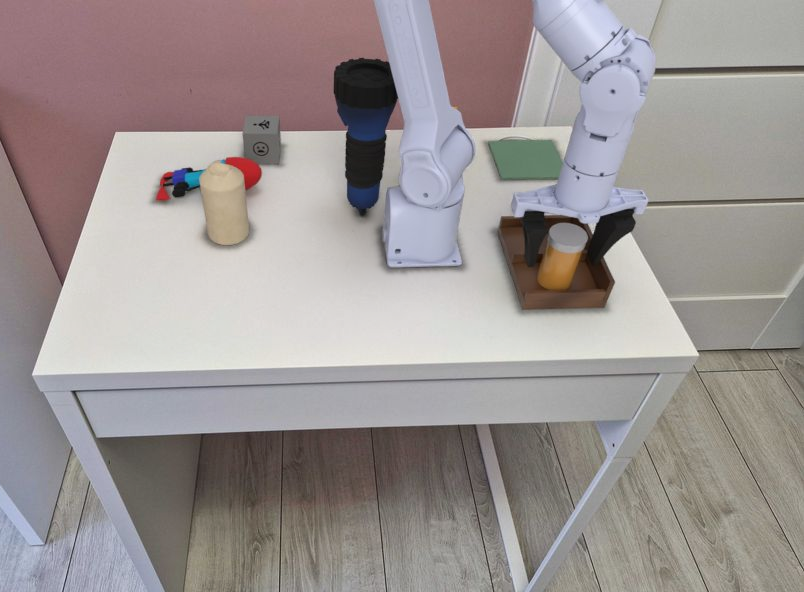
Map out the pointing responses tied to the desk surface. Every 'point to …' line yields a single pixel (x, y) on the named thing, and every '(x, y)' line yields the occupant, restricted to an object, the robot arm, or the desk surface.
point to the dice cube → (262, 139)
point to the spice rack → (586, 285)
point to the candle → (224, 203)
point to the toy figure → (190, 179)
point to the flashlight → (364, 124)
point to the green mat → (526, 159)
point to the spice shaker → (561, 256)
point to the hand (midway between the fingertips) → (560, 260)
